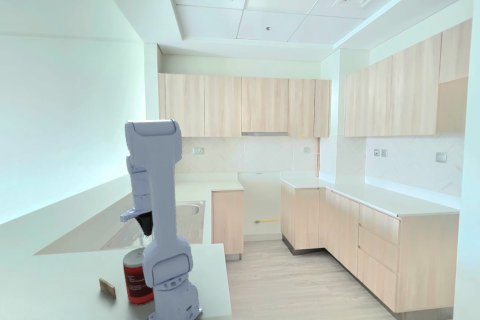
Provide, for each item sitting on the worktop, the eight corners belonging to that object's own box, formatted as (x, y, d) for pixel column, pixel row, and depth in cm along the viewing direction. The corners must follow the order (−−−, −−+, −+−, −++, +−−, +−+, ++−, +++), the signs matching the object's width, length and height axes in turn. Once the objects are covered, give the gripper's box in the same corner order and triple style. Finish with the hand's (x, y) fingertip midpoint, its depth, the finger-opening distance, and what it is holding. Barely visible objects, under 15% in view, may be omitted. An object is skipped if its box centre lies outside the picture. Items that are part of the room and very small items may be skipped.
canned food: (150, 279, 63) (146, 243, 62) (165, 292, 58) (161, 253, 56) (122, 295, 58) (116, 256, 56) (136, 311, 53) (130, 269, 51)
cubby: (148, 275, 65) (147, 266, 65) (114, 298, 57) (112, 288, 56) (134, 268, 69) (133, 259, 68) (100, 288, 61) (98, 278, 60)
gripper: (155, 185, 76) (159, 223, 78) (111, 198, 64) (118, 242, 66) (168, 188, 72) (172, 227, 74) (125, 202, 60) (131, 248, 62)
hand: (148, 234), depth 70 cm, fingers closed
